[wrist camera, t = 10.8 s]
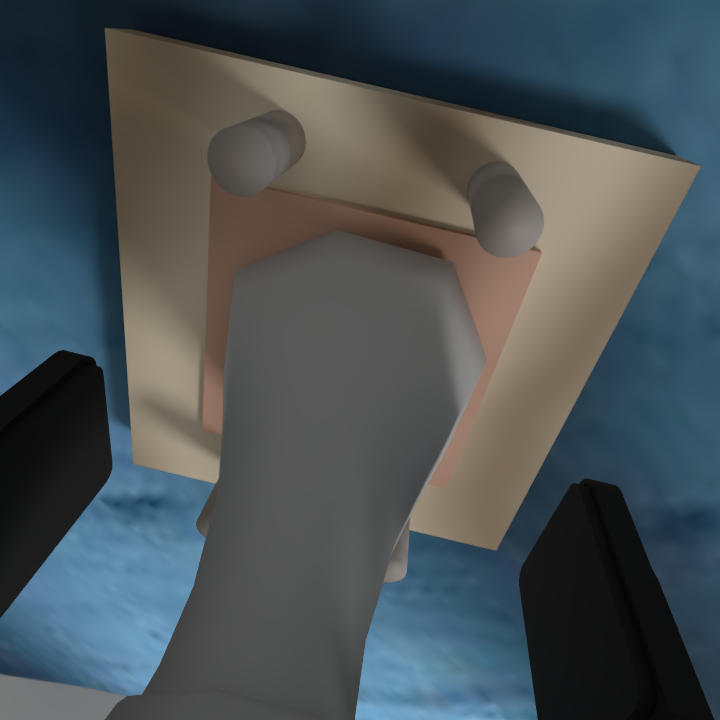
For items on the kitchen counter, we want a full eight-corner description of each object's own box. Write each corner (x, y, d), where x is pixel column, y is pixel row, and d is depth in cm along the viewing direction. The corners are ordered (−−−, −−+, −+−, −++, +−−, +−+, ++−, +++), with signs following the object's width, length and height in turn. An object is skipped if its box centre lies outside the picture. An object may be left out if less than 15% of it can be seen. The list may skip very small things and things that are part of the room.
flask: (481, 458, 15) (535, 958, 7) (252, 452, 16) (57, 877, 8) (492, 218, 12) (638, 664, 3) (197, 232, 13) (-272, 591, 4)
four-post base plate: (678, 155, 12) (775, 199, 8) (492, 523, 19) (505, 628, 15) (133, 29, 12) (11, 21, 8) (149, 441, 19) (86, 527, 15)
